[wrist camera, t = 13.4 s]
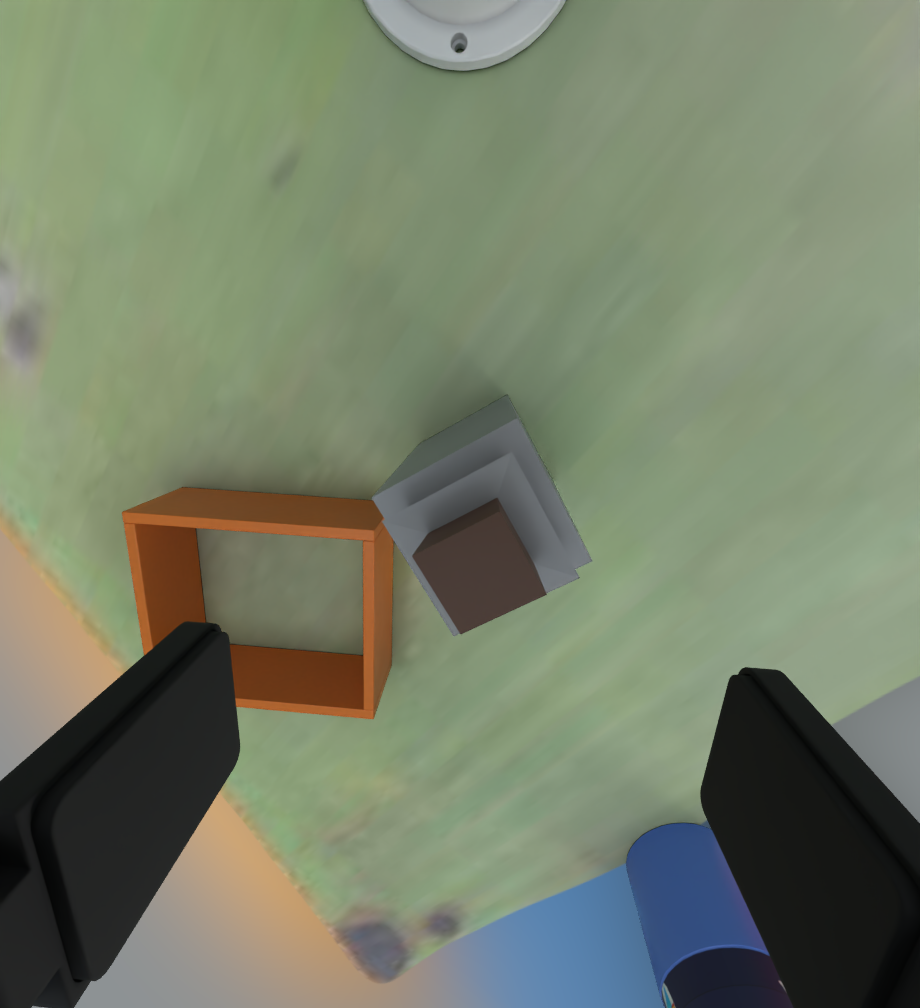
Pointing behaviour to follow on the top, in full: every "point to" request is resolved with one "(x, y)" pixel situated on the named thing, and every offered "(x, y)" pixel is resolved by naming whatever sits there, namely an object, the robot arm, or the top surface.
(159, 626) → the box
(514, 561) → the perfume bottle
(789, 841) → the robot arm
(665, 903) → the water bottle
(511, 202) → the top surface
